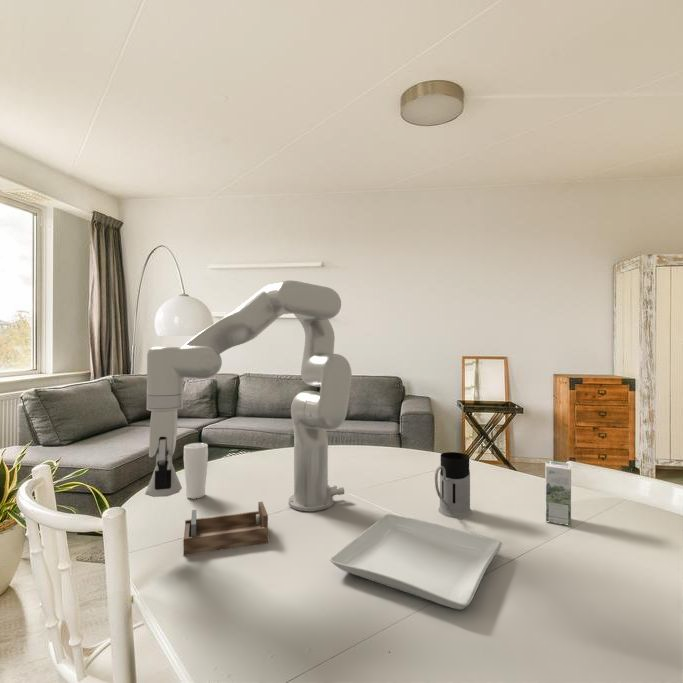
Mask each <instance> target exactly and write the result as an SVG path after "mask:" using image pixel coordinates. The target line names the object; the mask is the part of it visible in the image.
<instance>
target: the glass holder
mask: <svg viewBox="0 0 683 683" xmlns="http://www.w3.org/2000/svg"><path fill="white" fill-rule="evenodd" d="M470 471H471V470H470V455H469V454H466V453H462V452H458V451H457V452H456V451H455V452H453V451H447V452H446V451H445V452H442V453H441V454H440V465H439V466H437V467H436V470H435V472H434V484H435V486H434V487H435V491H436V494H437V497H438V498H439V507H438V509H437V511H438V513H439V514H441V515H443V516H445V517H448V518H453V519H465V518H469V517H471V516H472V515H473V514H472V513H473V512H472V510H471V472H470ZM438 478H439V479H438ZM471 514H472V515H471Z"/></svg>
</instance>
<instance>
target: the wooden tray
mask: <svg viewBox="0 0 683 683" xmlns="http://www.w3.org/2000/svg"><path fill="white" fill-rule="evenodd" d="M257 507H258V510H256V511H250V512H249V511H248V512H240V513H232V514H223V515H216V516H206V517H199V518H196V536H194V537H191V518H190V519H186V520H184V523H185V524H184V532H183V546H182V547H183V551H182V552H183V556H191V555H196V554H203V553H210V552H216V551H222V550H223V551H225V550H230V549H231V550H232V549H237V548H245V547H250V546H252V547H253V546H259V545H263V544H269V515H268V512H267V509H266V507H265V505H264V502H263V501H259V502H258V506H257Z"/></svg>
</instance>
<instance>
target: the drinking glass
mask: <svg viewBox="0 0 683 683" xmlns="http://www.w3.org/2000/svg"><path fill="white" fill-rule="evenodd" d="M208 447H209V445H208V443H204V442H193V443H188V444H185V445H184V446H183V466H184V477H185V478H184V479H185V492H186V493H185V494H186V495H185V496H186V497H187V498H188V499H190V498H191V499H192V500H193V499H194V500H196V498H197V499H201V498H203V497H204V496H205V495H206V486H207V485H206V482H207V472H208V471H207V470H208V459H209V458H208V457H209V448H208ZM191 499H190V500H191Z"/></svg>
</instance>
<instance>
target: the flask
mask: <svg viewBox="0 0 683 683" xmlns="http://www.w3.org/2000/svg"><path fill="white" fill-rule="evenodd" d="M165 455H168V453H166V454H165ZM165 460H167V458H165ZM172 462H173V457H172V458H171V457H170V469H171V488H170V489H160V490H156V489H155V470H156V466H155V468H154V470H153V472H152V476H151V478H150V480H149V482H148V486H147V488H146V491H145V493H144V495H145V496H149V497H152V498H159V497H161V498H162V497H163V498H165V497H170V496H172V495H176V494H178V493H180V491H181V490H182V485H181V482H180V480H179V477H178V474H177V473H176V469H175V467H174V463H173V464H172Z"/></svg>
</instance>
